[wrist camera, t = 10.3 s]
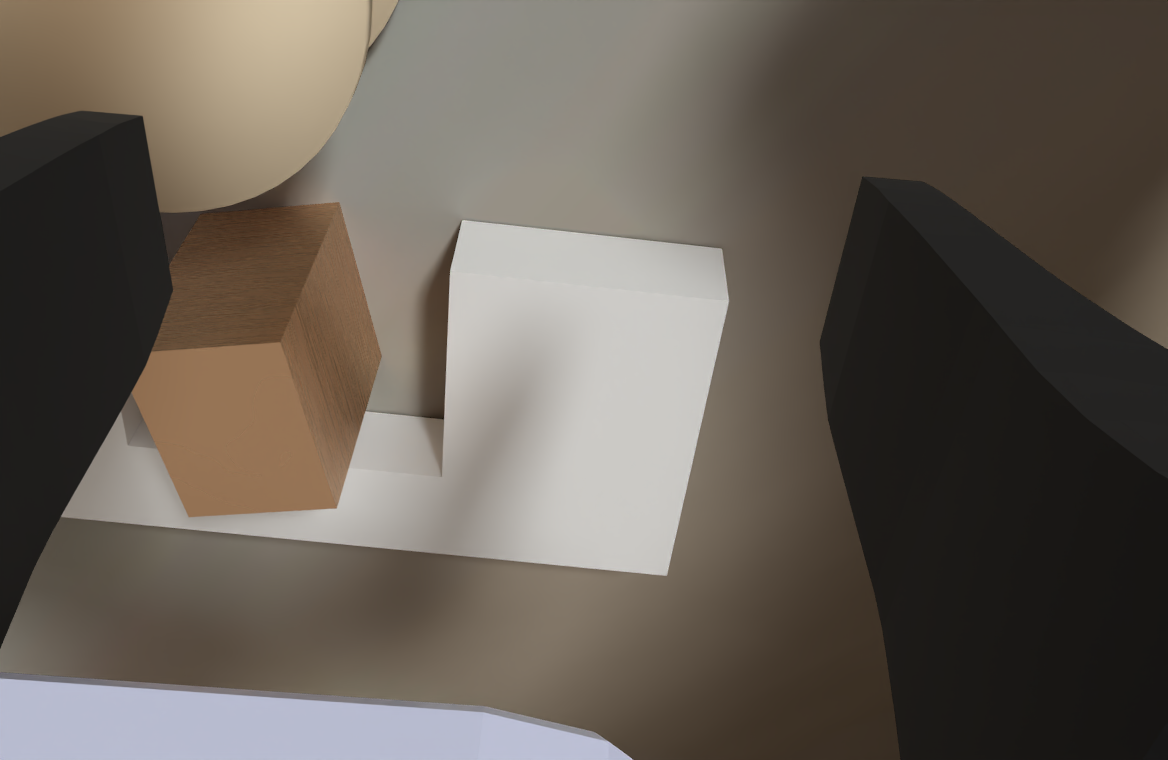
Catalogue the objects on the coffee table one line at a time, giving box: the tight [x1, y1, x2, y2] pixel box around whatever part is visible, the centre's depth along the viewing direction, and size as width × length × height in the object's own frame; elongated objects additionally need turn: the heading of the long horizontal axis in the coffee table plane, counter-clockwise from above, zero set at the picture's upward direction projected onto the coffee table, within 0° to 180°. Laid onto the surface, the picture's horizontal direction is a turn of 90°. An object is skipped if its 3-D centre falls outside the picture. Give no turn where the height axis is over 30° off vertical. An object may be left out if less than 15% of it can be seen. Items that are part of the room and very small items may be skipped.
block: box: [132, 202, 382, 517], centre depth 22 cm, size 3×4×5 cm
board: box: [61, 220, 729, 576], centre depth 25 cm, size 16×8×2 cm, turn 84°
